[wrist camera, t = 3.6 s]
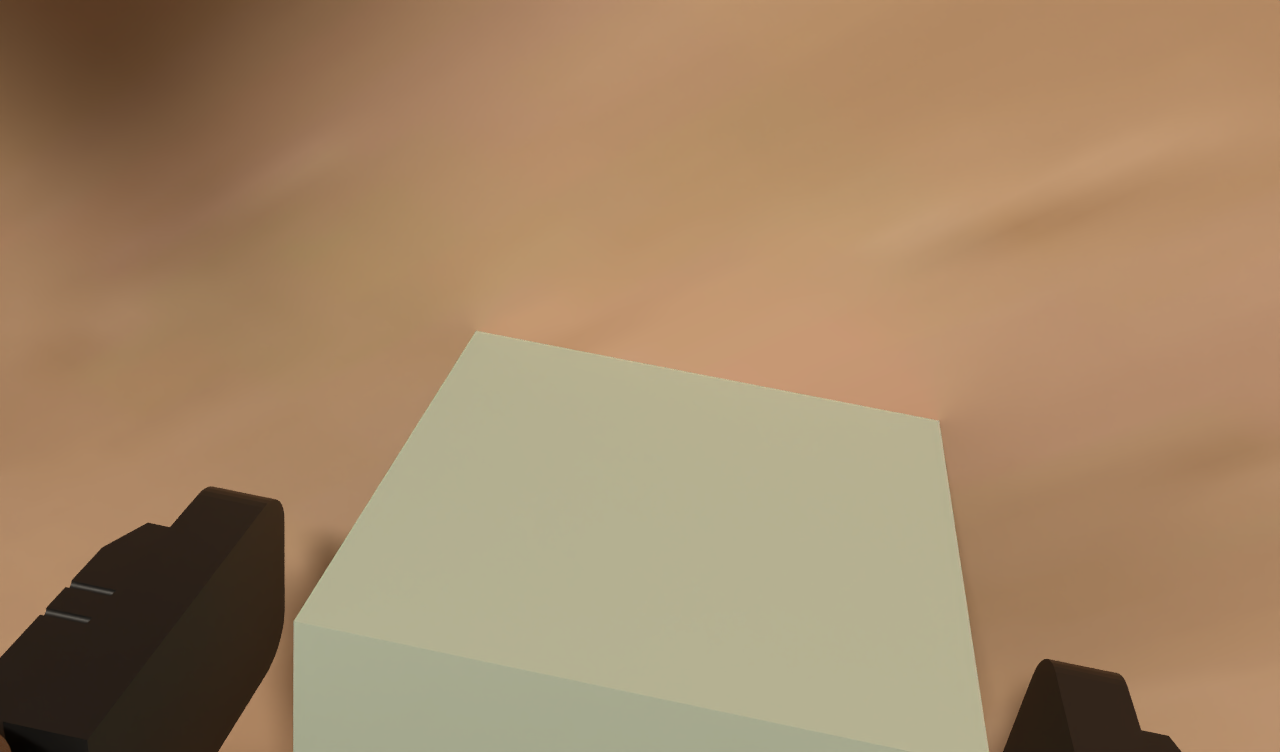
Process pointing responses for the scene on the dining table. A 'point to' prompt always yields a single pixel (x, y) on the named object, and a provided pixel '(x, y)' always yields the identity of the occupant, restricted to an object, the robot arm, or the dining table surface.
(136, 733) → the robot arm
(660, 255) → the dining table surface
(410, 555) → the sage green cube
